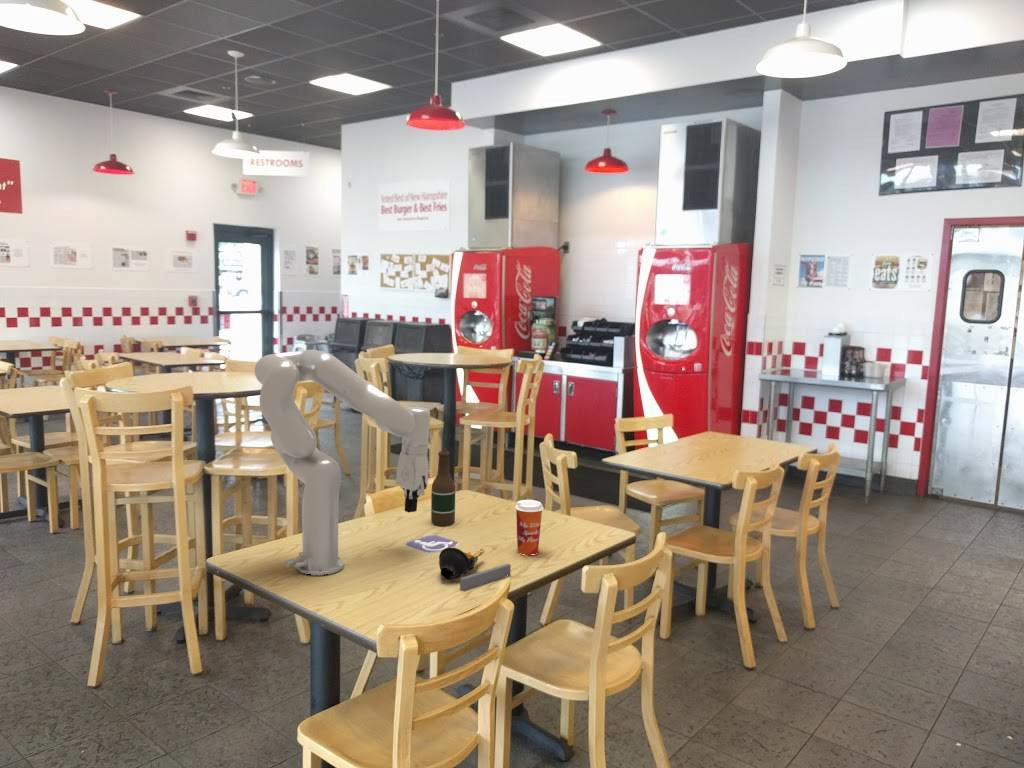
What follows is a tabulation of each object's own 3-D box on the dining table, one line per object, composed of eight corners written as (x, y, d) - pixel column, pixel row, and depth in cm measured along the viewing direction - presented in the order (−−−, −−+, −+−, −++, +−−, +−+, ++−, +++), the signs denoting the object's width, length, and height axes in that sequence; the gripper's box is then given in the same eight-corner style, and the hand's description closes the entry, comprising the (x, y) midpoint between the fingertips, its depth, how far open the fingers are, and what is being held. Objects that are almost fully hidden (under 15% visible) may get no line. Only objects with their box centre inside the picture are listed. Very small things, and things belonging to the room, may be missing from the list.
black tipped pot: (425, 564, 201) (450, 524, 216) (444, 596, 204) (468, 555, 219) (453, 557, 197) (477, 517, 212) (473, 590, 200) (494, 548, 215)
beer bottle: (453, 527, 246) (454, 454, 243) (429, 526, 246) (430, 453, 243) (455, 519, 254) (457, 449, 250) (432, 519, 254) (433, 448, 250)
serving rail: (463, 590, 196) (463, 579, 195) (460, 589, 197) (460, 578, 196) (510, 575, 207) (510, 564, 207) (507, 573, 208) (507, 563, 207)
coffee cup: (518, 558, 220) (519, 507, 218) (510, 548, 228) (512, 499, 226) (545, 556, 222) (547, 506, 220) (537, 546, 230) (539, 498, 228)
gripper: (389, 445, 224) (385, 506, 226) (419, 455, 213) (414, 519, 215) (410, 444, 229) (406, 503, 231) (440, 453, 218) (436, 516, 220)
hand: (410, 511), depth 223 cm, fingers closed
